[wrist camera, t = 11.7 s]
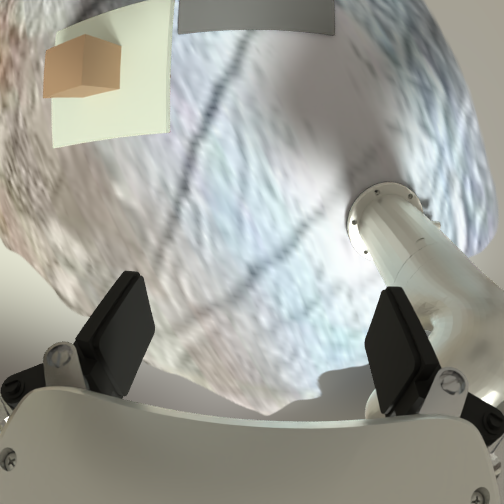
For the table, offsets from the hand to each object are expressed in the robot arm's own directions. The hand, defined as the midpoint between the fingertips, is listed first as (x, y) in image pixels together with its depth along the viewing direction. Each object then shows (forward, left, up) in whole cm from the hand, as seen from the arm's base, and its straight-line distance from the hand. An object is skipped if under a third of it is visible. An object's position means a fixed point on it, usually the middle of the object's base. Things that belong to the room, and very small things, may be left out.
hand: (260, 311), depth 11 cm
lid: (+16, -12, -18) cm, 27 cm away
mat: (+2, -26, -30) cm, 40 cm away
